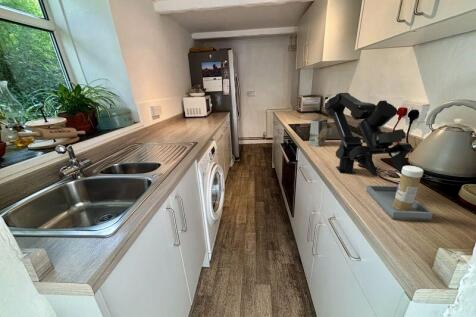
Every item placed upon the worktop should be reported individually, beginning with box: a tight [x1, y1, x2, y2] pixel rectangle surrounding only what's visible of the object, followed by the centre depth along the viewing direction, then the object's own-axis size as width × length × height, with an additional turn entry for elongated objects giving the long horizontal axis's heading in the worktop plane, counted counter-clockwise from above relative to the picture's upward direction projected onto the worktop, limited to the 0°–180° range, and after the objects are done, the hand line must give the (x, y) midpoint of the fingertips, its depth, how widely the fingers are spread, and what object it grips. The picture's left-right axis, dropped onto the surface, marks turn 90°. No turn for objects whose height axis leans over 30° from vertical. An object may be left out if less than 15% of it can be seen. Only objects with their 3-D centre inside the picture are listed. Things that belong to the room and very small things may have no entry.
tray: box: [365, 185, 434, 222], centre depth 64 cm, size 16×10×2 cm, turn 172°
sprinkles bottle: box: [393, 165, 424, 211], centre depth 58 cm, size 5×5×14 cm
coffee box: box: [308, 118, 328, 147], centre depth 127 cm, size 9×6×16 cm
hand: (389, 174), depth 64 cm, fingers open, 9 cm apart
